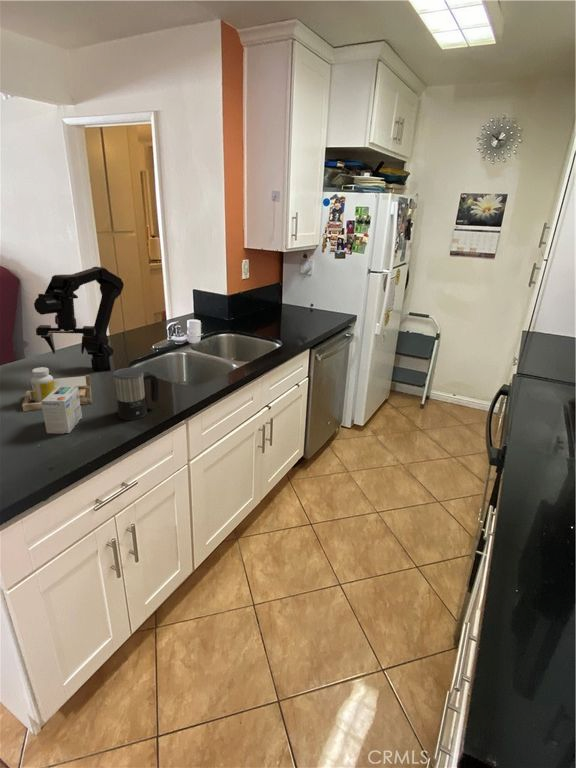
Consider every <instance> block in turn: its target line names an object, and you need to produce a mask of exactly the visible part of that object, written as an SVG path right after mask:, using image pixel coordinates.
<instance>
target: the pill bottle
mask: <svg viewBox="0 0 576 768" xmlns="http://www.w3.org/2000/svg"><path fill="white" fill-rule="evenodd" d="M31 372H32V375H33V377H32V378H31V379H30V383H31V387H32V391H33V394H34V397H33V399H34V403H37V402H41V401H42V400H43V399H44V398H45V397H46V396H48V395H49V394H50V393H51V392H52V391H53V390H54V389H55V386H54V380H53V379H54V377H53V376H52V375H51V374H49V373H50V370H49V368H48V367H45V366H44V367H43V366H41V367H35V368H33V369H32V371H31Z"/></svg>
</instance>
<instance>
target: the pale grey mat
mask: <svg viewBox="0 0 576 768" xmlns="http://www.w3.org/2000/svg"><path fill="white" fill-rule="evenodd" d="M53 380H54V386H55V388H56V387H76V386H87V385H86V377H85V375H83V376H72V377H71V376H70V377H60V378H53Z"/></svg>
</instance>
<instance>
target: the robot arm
mask: <svg viewBox="0 0 576 768" xmlns="http://www.w3.org/2000/svg"><path fill="white" fill-rule="evenodd" d="M94 281H96V283H97V284H99V290H100V294H101V299H100V302H99V305H98V311H97V312H96V313H97V314H96V318H95V322H94V325H83V327H81V328H80V327H79V328H78V327H77V319H76V316H75V315H76V314H75V304H74V302H75V301H74V299H78V298H79V296H78V295H77V294H75V293H74V292H76V291H77V290H78V289H79V288H80V287H81V286H84V285H85V284H88V283H92V282H94ZM123 289H124V282H123V280H122V278H121V277H119V276H118V275H115V274H114V273H112V272H110V271H109V270H108V269H106V267H103V266H102V267H101V266H93V267H91V268H88V269H84V270H82V271H79V272H75V273H72V274H54V275H52V276H51V280H50V282H49V283H48V286H47V287H46V290H45V292H44V293H38V294H37V296H38V297H37V298H36V299H35V300H34V303H33V307H34V309H35V311H36V312H37V314H39V315H41V316H43V315H49V314H50V315H51V314H56V315H55V317H54V323H55V324H56V325H57V327H52V326H51V324H49V325H47V324H40V325H38V327H36V328H35V335H36V336H37V337H38V336H40V338H41V339H44V340H45V342H46V343H47V344H48V346H49V347H50V348H49V349H51V351H52V353H53V355H55V354H56V347H55V342H54V337H53V336H54V334H82V336H81V348H80V352H81V354H82V355H83V354H84V351H85V350H86V353H87V355H89V356H92V357H91V358H90V362H91V369H92V370H93V372H107V371H108V372H109V371H111V370H112V368H111V367H112V366H111V362H110V361H111V360H110V357H112V356H113V355H114V348H113V347H112V346H110V345H109V338H108V335H107V332H108V328H109V324H110V320H111V317H112V313H113V308H114V304H115V302H116V299H118V298H119V297H120V295H121V294H122V292H123Z"/></svg>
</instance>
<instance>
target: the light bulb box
mask: <svg viewBox="0 0 576 768" xmlns="http://www.w3.org/2000/svg"><path fill="white" fill-rule="evenodd" d="M41 404H42V409H41V410H42V415H43V421H44V425H45V430H46V433H47V434H64V433H69V434H70V433H71V431H72V430H73V429H74V428H75V427H76V426H77V424H78V423H79V422H80V421H81V420H80V419H82V418H83V415H82V407H81V405H80V399H79V391H78V387H56V388H55V389H54V390H53V391H52V392H51V393H50V394H49V395H48V396H46V397H45V398H44V399H43V400H42V401H41ZM79 420H80V421H79ZM75 425H76V426H75Z"/></svg>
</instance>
